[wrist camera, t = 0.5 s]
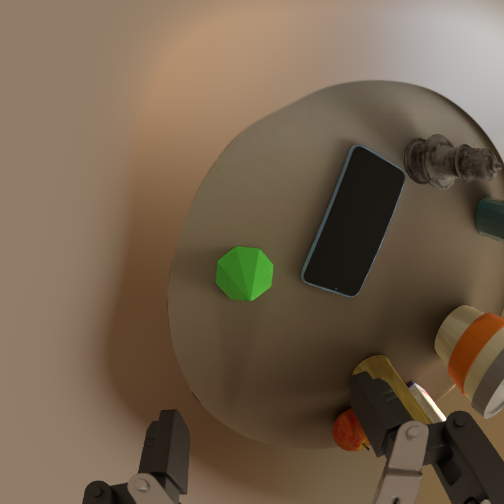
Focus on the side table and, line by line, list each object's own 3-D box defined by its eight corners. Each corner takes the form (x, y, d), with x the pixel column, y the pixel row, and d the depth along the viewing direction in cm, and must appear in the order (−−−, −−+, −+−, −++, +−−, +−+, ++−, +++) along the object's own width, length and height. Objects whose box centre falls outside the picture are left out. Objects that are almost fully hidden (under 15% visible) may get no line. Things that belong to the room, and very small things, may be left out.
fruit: (321, 429, 36) (335, 468, 29) (334, 400, 34) (353, 441, 27) (359, 424, 37) (377, 458, 30) (375, 395, 35) (397, 430, 28)
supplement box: (386, 405, 37) (416, 453, 26) (412, 380, 36) (449, 425, 25) (400, 412, 38) (429, 456, 27) (425, 389, 37) (458, 431, 26)
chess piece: (398, 179, 27) (480, 191, 15) (405, 129, 25) (485, 119, 14) (435, 192, 27) (512, 208, 16) (441, 145, 26) (518, 146, 14)
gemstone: (265, 237, 27) (277, 255, 21) (281, 291, 29) (294, 320, 23) (205, 255, 27) (201, 278, 21) (225, 308, 29) (226, 341, 23)
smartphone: (409, 172, 26) (357, 300, 29) (404, 172, 26) (353, 297, 30) (354, 140, 24) (298, 282, 28) (350, 140, 25) (296, 279, 28)
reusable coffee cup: (484, 320, 35) (539, 361, 20) (438, 374, 36) (486, 427, 22) (468, 278, 32) (541, 321, 17) (414, 342, 33) (476, 407, 19)
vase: (369, 349, 32) (426, 424, 19) (396, 360, 34) (450, 426, 20) (341, 383, 34) (383, 463, 20) (370, 391, 35) (412, 461, 21)
